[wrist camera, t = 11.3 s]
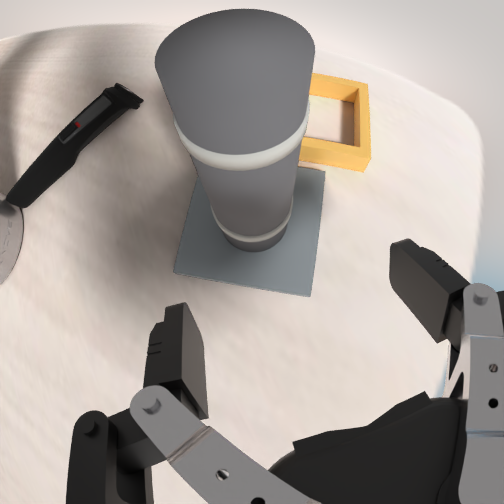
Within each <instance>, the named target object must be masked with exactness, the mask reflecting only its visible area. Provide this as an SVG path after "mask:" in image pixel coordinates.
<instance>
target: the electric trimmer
mask: <svg viewBox="0 0 504 504" xmlns="http://www.w3.org/2000/svg"><path fill="white" fill-rule="evenodd" d="M143 101H144V100H143V99H141V98H140V97H138V96H137V95H136V94H134V93H133V92H131V91H130V90H129V89H127V88H126V87H124V86H123V85H121V84H118V83H116V84H115V87H110V88H106V89H105V90H104V91H103V93H102V94H101V95H100V96H99V97H97V98H96V99H95V100H94V101H93V102H92V103H91V104H90V105H88V106H87V107H86V108H85V109H84V110H83V111H82V112H81V113H80V114H79V115H78V116H77V117H75V118H74V119H73V120H72V121H71V122H70V123H69V124H68V125H67V126H66V127H65V128H64V129H63V130H62V131H61V132H60V133H59V134H58V135H57V137H56V138H55V139H54V140H53V141H52V142H51V143H50V144H49V145H48V146H47V148H46V149H45V150H44V151H43V152H42V153H41V154H40V156H39V157H38V158H37V159H36V160H35V161H34V162H33V164H32V165H31V166H30V167H29V168H28V169H27V171H26V172H25V173H24V174H23V175H22V177H21V178H20V179H19V180H18V182H17V183H16V184H15V185H14V187H13V188H12V189H11V191H10V192H9V193H8V195H7V197H6V201H7V202H9V203H10V204H12V205H15V206H17V207H20V208H27V207H28V206H29V205H30V204H31V203H32V202H33V201H34V200H36V199H37V198H38V197H39V196H40V195H41V194H42V193H43V192H44V191H45V190H46V189H47V188H48V187H50V186H51V185H52V184H53V183H54V182H55V181H56V180H57V179H59V178H60V177H61V176H62V175H63V174H64V173H65V172H66V171H67V170H69V169H70V168H71V167H72V166H73V165H74V163H75V160H76V157H77V154H78V153H79V152H80V151H81V150H82V149H83V148H84V147H85V146H86V145H87V144H88V143H89V142H91V141H92V140H93V139H94V138H95V137H96V136H97V135H98V134H100V133H101V132H102V131H103V130H104V129H105V128H106V127H108V126H109V125H110V124H111V123H112V122H113V121H115V120H116V119H117V118H118V117H119V116H121V115H122V114H123V113H124V112H126V111H127V110H128V109H130V108H133V109H138V108H139V107H140V103H141V102H143Z"/></svg>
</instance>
